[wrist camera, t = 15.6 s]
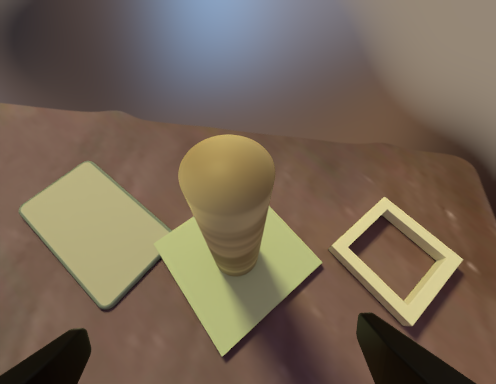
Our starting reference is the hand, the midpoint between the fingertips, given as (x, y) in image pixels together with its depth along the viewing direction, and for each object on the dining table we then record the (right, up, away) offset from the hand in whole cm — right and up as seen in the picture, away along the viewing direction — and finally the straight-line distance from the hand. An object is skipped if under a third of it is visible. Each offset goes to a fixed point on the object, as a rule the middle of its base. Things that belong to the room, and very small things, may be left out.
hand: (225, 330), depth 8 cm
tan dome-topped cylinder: (0, -1, +13) cm, 13 cm away
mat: (0, -1, +14) cm, 14 cm away
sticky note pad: (-14, +1, +16) cm, 21 cm away
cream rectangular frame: (+14, -1, +14) cm, 20 cm away
